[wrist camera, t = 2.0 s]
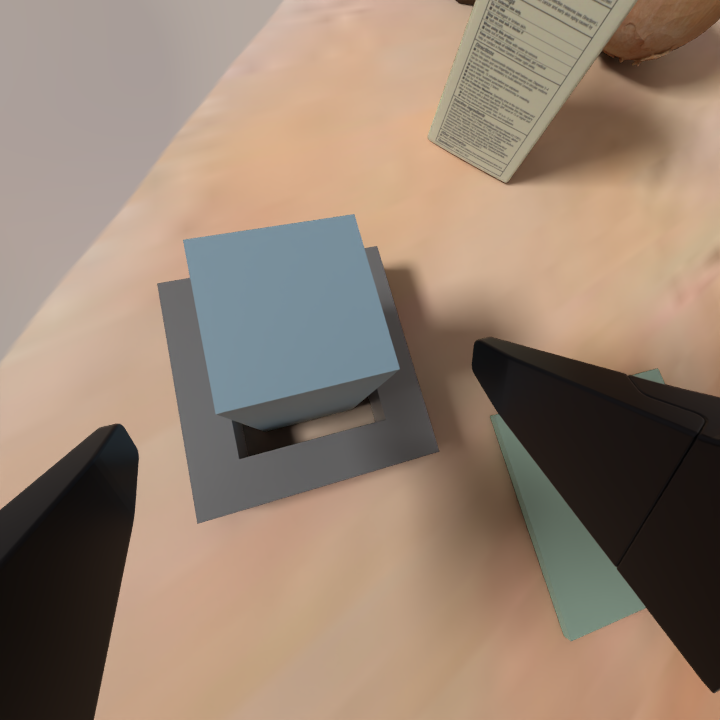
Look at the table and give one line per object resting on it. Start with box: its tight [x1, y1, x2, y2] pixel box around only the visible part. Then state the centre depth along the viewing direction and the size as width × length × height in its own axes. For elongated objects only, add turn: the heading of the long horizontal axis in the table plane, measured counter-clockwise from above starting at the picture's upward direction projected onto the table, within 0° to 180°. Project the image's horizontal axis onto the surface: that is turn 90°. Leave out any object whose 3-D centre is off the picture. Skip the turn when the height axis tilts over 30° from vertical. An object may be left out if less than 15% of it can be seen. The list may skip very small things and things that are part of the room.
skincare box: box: [428, 0, 638, 183], centre depth 18 cm, size 6×4×12 cm
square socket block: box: [157, 246, 439, 524], centre depth 17 cm, size 10×10×2 cm
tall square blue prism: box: [183, 214, 400, 432], centre depth 14 cm, size 4×4×10 cm
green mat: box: [490, 369, 665, 641], centre depth 19 cm, size 11×11×1 cm
